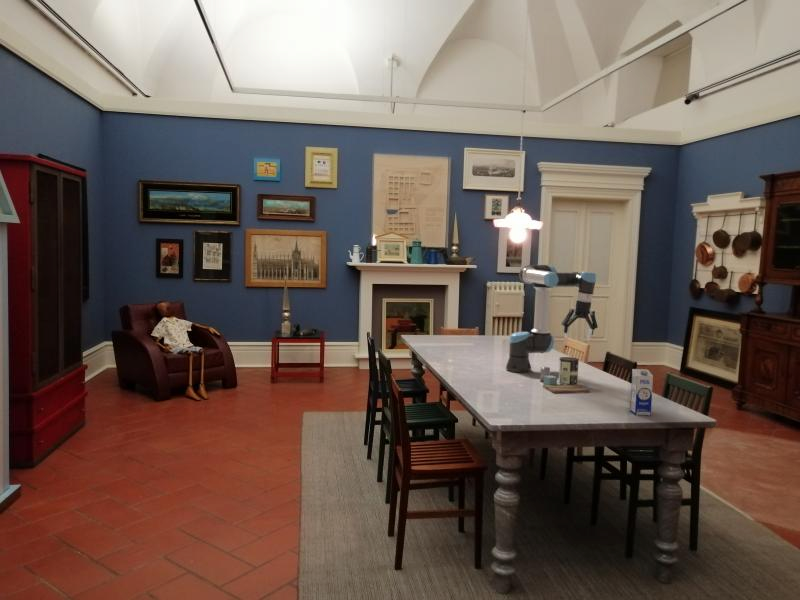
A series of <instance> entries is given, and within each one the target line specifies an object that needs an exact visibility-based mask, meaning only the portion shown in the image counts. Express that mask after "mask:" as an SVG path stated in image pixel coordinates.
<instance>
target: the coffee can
mask: <svg viewBox="0 0 800 600" xmlns="http://www.w3.org/2000/svg"><path fill="white" fill-rule="evenodd" d="M579 362H580V359H579V358H576V357H572V356H571V357H570V356H561V357H559V364H558V365H559V369H558V385H561V384H562V385H571V384H578V379H579V378H578V377H579ZM578 385H579V384H578Z"/></svg>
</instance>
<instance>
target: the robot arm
mask: <svg viewBox="0 0 800 600" xmlns="http://www.w3.org/2000/svg"><path fill="white" fill-rule="evenodd" d="M518 277H519V280H520V281H522V282H523V283H525V284H528V285H533V288H534V289H535V296H534V298H535V300H534V318H533V328H532V329H531V330H530V332H529V331H517V332H513V333H510V337H509V351H508V352H509V356H508V359H507V362H506V366H505V370H506V369H507V370H509V371H508V372H511V371H513V372H512V373H518V372H526V373H530V372H532V365H531V362H530V359H529V358H530V354H536V353H537V354H545V353H549V352H551V350H553V348H554V345H555V339H554V336H553V334H552V333H551V331H550V330H549V319H550V317H549V316H550V302H551V291H552V289H553V288H554V287H555V288H556V287H563V288H564V287H567V288H568V287H571V288H573V287H574V288H575V287H576V288H578V292H577V297H576V299H577V300H576V303H575V309H573V308H570V309H569V311H568V313H567V314H566V315H565V318H564V319H563V321H562V322H561V325H562V326H564V327H563V328H564V329H563V333H564V336H563V339H565V340H568V339H569V334H570V326H571V325H572V324H573V323H574V322H575V321H576V320H578V319H585V321H586V323H587V324H588V326H589V327H588V328H587V329H588V331H587V335H586V341H588V342H591V340H592V336H593V335H594V331H595V330H596V329H598V326H599V325H598V323H597V319H596V311H595V310H592V309H591V308H592V301H593V296H594V291H595V286H596V279H597V274H596V272H592V271H586V270H584V271H581V272H578V271H570V272H557V268H555V266H553V265H550V264H528V265H525V266H523V267H522V268H521V269H520V270H519V273H518ZM507 370H506V371H507Z"/></svg>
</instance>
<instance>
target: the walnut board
mask: <svg viewBox="0 0 800 600" xmlns="http://www.w3.org/2000/svg"><path fill="white" fill-rule="evenodd" d="M542 388H543V389H545V390H546V391H549V392H551V393H552V394H573V393H572V392H584V393H590V389H588V388H586V387H584V386H582V385H580V384H571V385H561V384H557V385H542Z"/></svg>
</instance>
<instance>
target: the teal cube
mask: <svg viewBox="0 0 800 600" xmlns="http://www.w3.org/2000/svg"><path fill="white" fill-rule="evenodd" d="M543 385H558V377H557V376H554V375H552V374H551V375H549V376H544V383H543ZM543 385H542V386H543Z"/></svg>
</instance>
